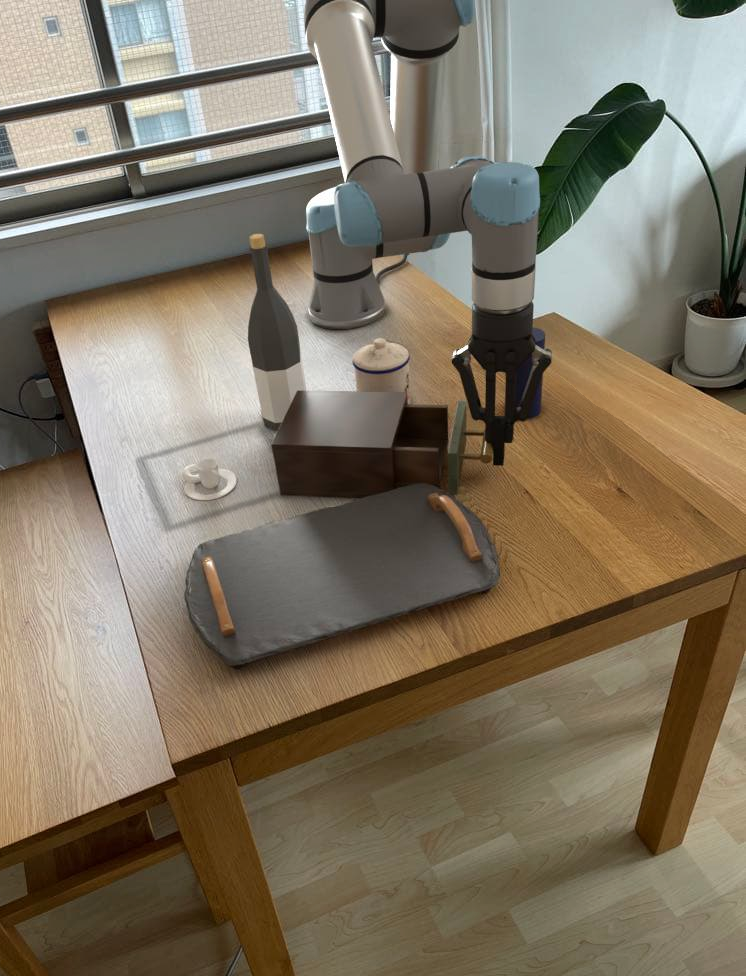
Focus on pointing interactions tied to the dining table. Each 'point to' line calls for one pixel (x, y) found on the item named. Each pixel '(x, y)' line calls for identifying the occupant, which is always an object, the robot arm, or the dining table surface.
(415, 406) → the drawer
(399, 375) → the teacup with lid
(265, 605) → the serving tray
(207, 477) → the teacup and saucer
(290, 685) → the dining table surface
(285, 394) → the wine bottle
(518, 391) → the navy cylinder
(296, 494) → the cabinet
